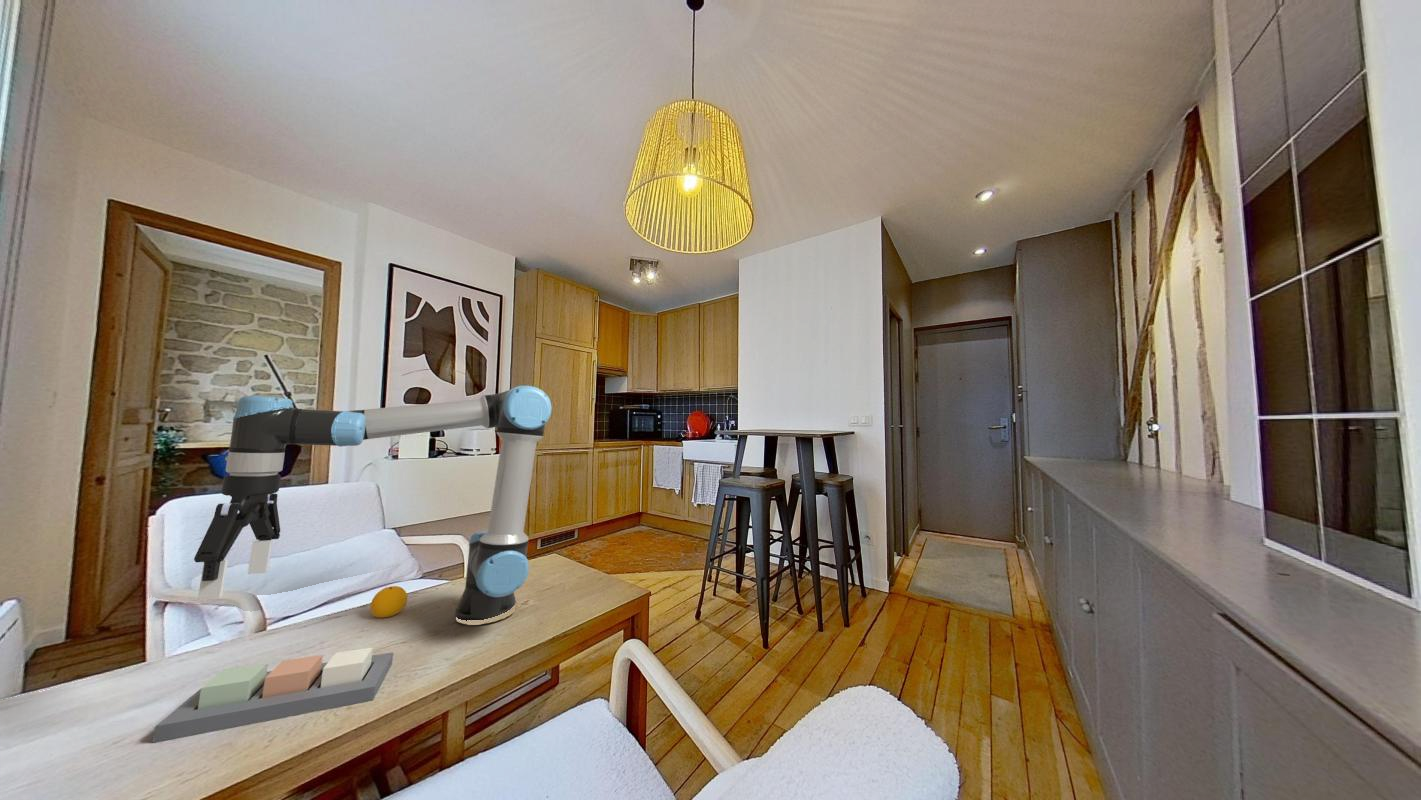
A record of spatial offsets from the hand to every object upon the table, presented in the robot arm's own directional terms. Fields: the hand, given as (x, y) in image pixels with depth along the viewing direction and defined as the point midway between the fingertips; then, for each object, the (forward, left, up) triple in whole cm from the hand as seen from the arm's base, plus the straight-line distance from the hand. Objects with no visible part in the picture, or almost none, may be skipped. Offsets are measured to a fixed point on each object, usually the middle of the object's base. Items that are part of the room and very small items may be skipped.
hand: (235, 584), depth 77 cm
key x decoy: (-12, +5, -18) cm, 22 cm away
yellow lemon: (-19, -30, -21) cm, 41 cm away
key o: (-4, +5, -18) cm, 19 cm away
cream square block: (-20, +5, -18) cm, 27 cm away
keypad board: (-12, +5, -20) cm, 24 cm away
